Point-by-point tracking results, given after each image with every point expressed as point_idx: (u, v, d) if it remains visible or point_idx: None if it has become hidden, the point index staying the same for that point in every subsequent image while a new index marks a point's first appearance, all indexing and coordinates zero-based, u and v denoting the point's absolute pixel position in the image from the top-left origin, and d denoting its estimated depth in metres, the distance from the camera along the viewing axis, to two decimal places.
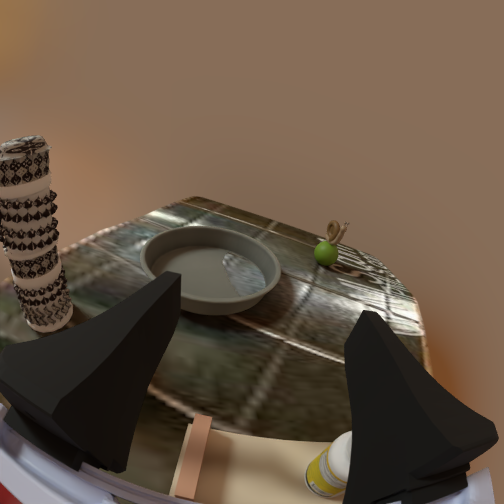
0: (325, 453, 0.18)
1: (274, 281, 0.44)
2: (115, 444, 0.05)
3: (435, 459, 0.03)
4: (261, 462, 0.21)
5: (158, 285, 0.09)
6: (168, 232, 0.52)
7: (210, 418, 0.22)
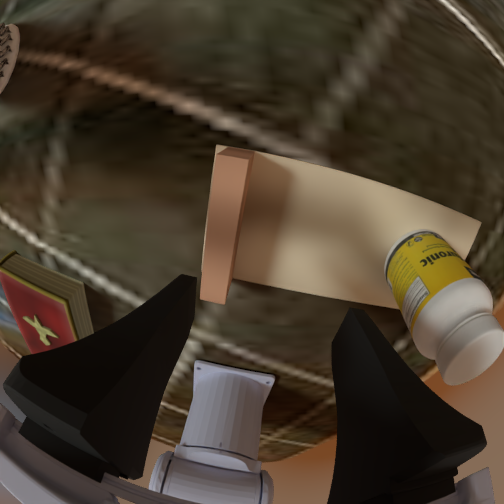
0: (423, 292, 0.12)
1: None
2: (135, 452, 0.05)
3: (416, 464, 0.03)
4: (334, 219, 0.17)
5: (175, 289, 0.09)
6: None
7: (245, 163, 0.13)
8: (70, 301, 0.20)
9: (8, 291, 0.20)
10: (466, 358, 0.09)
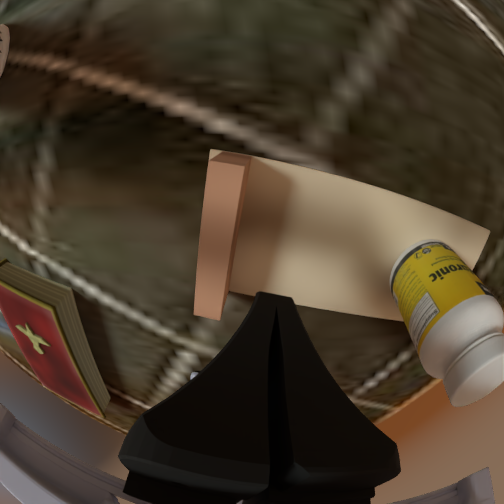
0: (432, 310, 0.11)
1: None
2: None
3: (286, 474, 0.04)
4: (337, 229, 0.16)
5: (264, 309, 0.09)
6: None
7: (241, 170, 0.12)
8: (58, 307, 0.19)
9: (0, 300, 0.19)
10: (476, 381, 0.08)
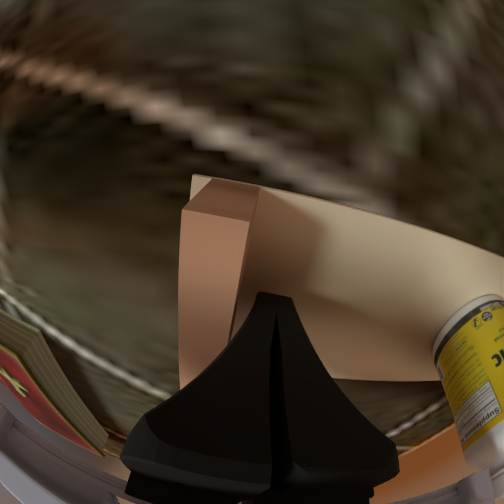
0: (492, 407, 0.06)
1: None
2: None
3: (284, 474, 0.04)
4: (380, 293, 0.10)
5: (265, 309, 0.09)
6: None
7: (243, 228, 0.06)
8: (26, 354, 0.14)
9: None
10: None
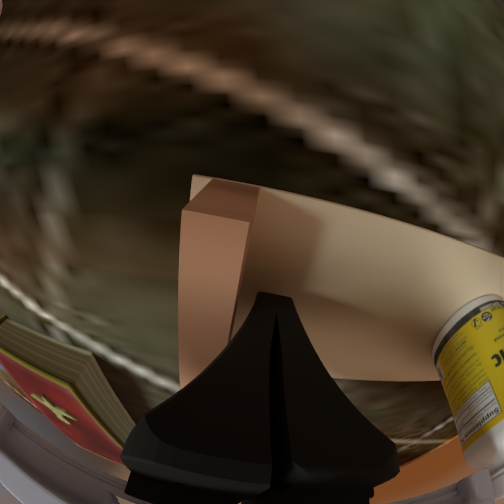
0: (492, 407, 0.06)
1: None
2: None
3: (284, 474, 0.04)
4: (380, 293, 0.10)
5: (265, 309, 0.09)
6: None
7: (242, 229, 0.06)
8: (79, 381, 0.14)
9: (6, 366, 0.14)
10: None
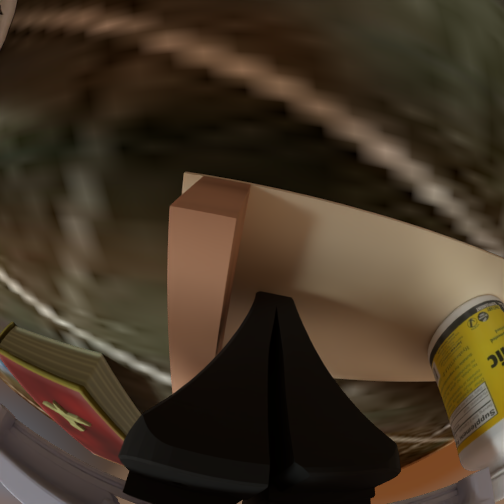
0: (488, 409, 0.06)
1: None
2: None
3: (285, 474, 0.04)
4: (374, 292, 0.10)
5: (264, 309, 0.09)
6: None
7: (230, 225, 0.06)
8: (89, 384, 0.13)
9: (16, 375, 0.14)
10: None
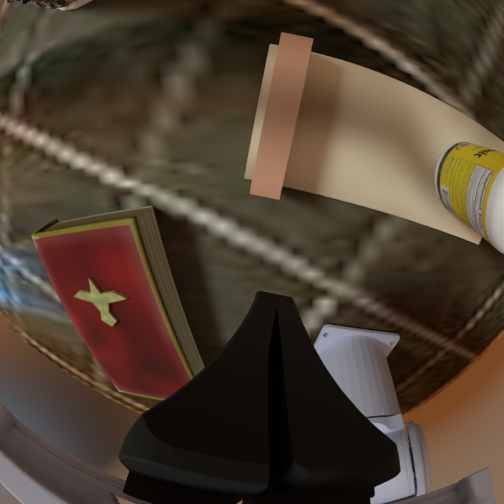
0: (487, 173, 0.09)
1: None
2: None
3: (286, 474, 0.04)
4: (385, 121, 0.14)
5: (264, 309, 0.09)
6: None
7: (310, 41, 0.10)
8: (139, 224, 0.17)
9: (51, 265, 0.19)
10: None
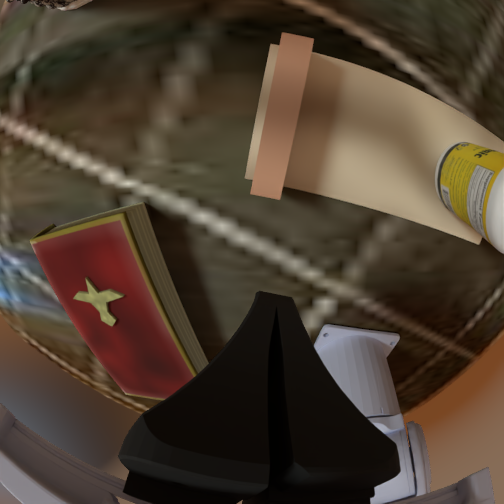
0: (487, 174, 0.09)
1: None
2: None
3: (285, 474, 0.04)
4: (385, 122, 0.14)
5: (264, 309, 0.09)
6: None
7: (311, 41, 0.10)
8: (130, 220, 0.17)
9: (49, 268, 0.19)
10: None
